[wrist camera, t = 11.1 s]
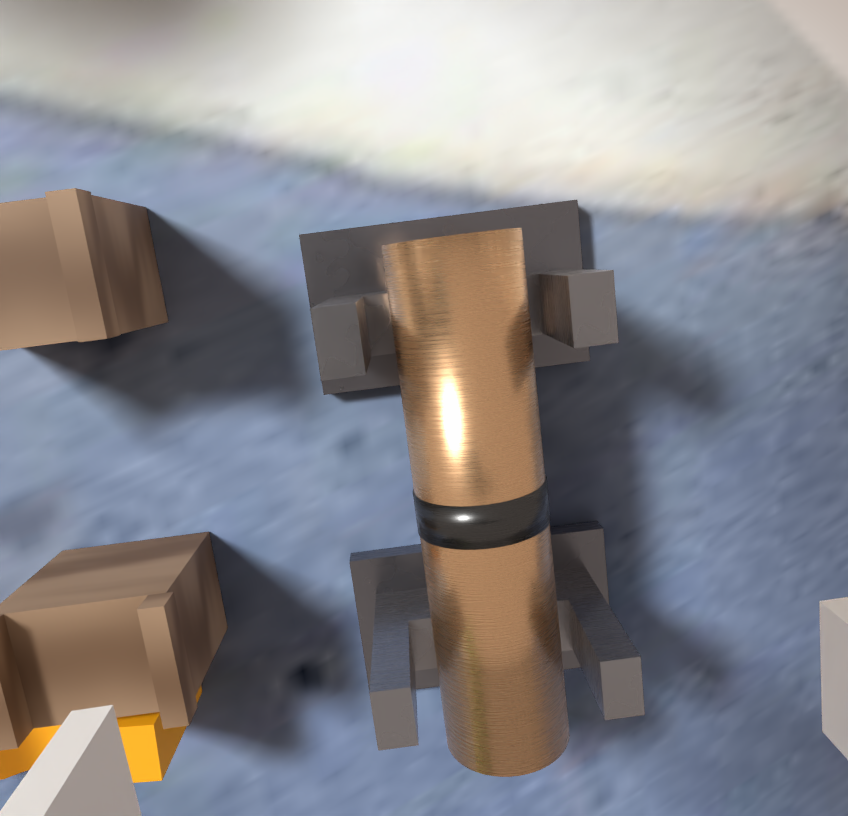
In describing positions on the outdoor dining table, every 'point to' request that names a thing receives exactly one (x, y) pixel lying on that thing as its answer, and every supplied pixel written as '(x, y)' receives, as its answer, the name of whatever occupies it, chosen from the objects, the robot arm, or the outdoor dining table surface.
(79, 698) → the walnut rest
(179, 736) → the pipe clamp
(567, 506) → the outdoor dining table surface
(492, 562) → the tube
